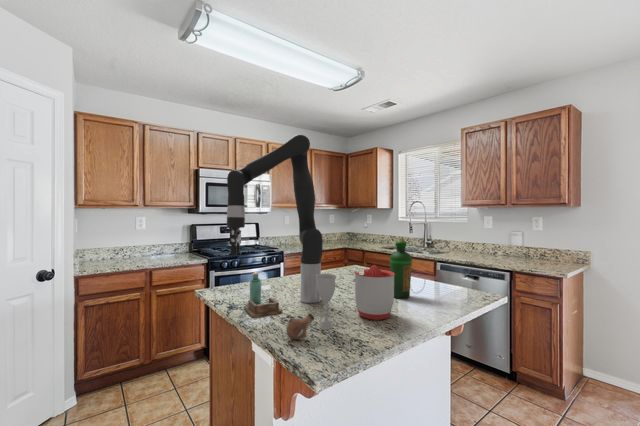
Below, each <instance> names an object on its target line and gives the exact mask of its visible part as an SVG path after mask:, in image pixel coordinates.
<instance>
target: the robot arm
mask: <svg viewBox="0 0 640 426" xmlns="http://www.w3.org/2000/svg"><path fill="white" fill-rule="evenodd" d="M310 146H311V142H310V139H309V137H307V136H306V135H304V134H295V135H293V136H292V137H291V138H290V139H289V140H288V141H286V142H285V143H284V144H282V145H280V146H279V147H278V148H276V149H273V150H272V151H270V152H268V153H266V154H263V155H262V156H260V157H258V158H256V159H253V161H252V160H251V161H250V162H249V163H247V164H246V166H244V167H243V168H241V169H232V170H231V171H229V172H228V174H227V178H226V180H227V181H226V182H227V192H228V193H227V194H228V195H227V209H226V228H228V229H230V230H229V245H230V255H231V256H236V255H239V254H241V253H240V252H241V251H240V249H241V244H242V230H241V229H243V228H245V225H246V223H245V222H246V211H245V210H246V209H245V193H244V191H245V190H244V188H245V186H246V185H247V184H249V183H250V182H251V181H253V180H254V179H256V178H259V177H260V176H262V175H264V174H266V173H267V172H270V171H271V170H272V169H274V168H275V167H277V166H278V165H280V164H281V163H283V162H285V161H287V160H289V159H290V161H291V166H292V167H291V168H292V179H293V180H292V181H293V192H294V198H295V199H294V200H295V205H296V211H297V215H298V224H299V225H298V226H299V229H298V230H299V232H298V233H299V241H300V243H301V246H302V250H301V251H302V252H301V257H300V295H299V296H300V298H299V299H300V302H301V303H304V304H305V303H307V304H316V303H321V301H322V300H321V298H320V295H319V293H318V290H317V277H316V275H318V274H322V273H321V272H322V271H321V270H322V269H321V268H322V263H321V262H322V257H323V246H324V245H323V241H324V240H323V234H322V233H321V230H319V229H318V228H317V227H316V221H315V208H316V206H315V205H316V192H315V185H314V181H313V178H312V175H311V172H310V168H309V165H308V164H309V163H308V161H309V160H308V152H309V150H310V148H311V147H310Z"/></svg>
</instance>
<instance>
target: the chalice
mask: <svg viewBox="0 0 640 426" xmlns="http://www.w3.org/2000/svg"><path fill="white" fill-rule="evenodd" d="M316 277H317V290H318V293H319V295H320V298H321V300H320V301H322V302H323V303H324V306H323V309H324V311H323V314H324V317H323V319H321V320H320V322H319V325H318V329H322V330H331V329H333V328H334V325H333V323H332V320H330V318H328V314H329V311H328V309H329V307H328V306H329V305H328V303H329V302H331V300H332V298H333V296H334V295H335V290H336V278H337V275H336V274H332V273H321V274H318V275H316Z"/></svg>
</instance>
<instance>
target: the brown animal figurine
mask: <svg viewBox="0 0 640 426" xmlns="http://www.w3.org/2000/svg"><path fill="white" fill-rule="evenodd" d="M314 320H315V316H314V315H313V314H312V313H310V312H309V313H307V316H305V317H304V318H302V319H301V318H292V317H291V318H289V321H288V323H287V326H286V329H285V330H286V331H285V332H286V335H287V336H288V338H290V339H291V340H295V341H297V340H301V339H305V338H307V330H308V329H307V328H308V326H309V325H310V324H311V323H312V322H314Z"/></svg>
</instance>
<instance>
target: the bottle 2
mask: <svg viewBox="0 0 640 426" xmlns="http://www.w3.org/2000/svg"><path fill="white" fill-rule="evenodd" d="M394 246H395V247H396V251H394V252H392V253H391V254H390V256H389V269H390V270H389V271H391V272H394V273H395V275H394V299H397V300H398V299H400V300H405V299H409V298H410V294H411V282H412V280H411V279H412V265H413V263H412V261H413V258H412V257H413V256H411V254H409V253H408V252H407V251H406V247H407V241H406V240H405V238H403V237H402V238H397V240H396V241H395V243H394Z"/></svg>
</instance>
